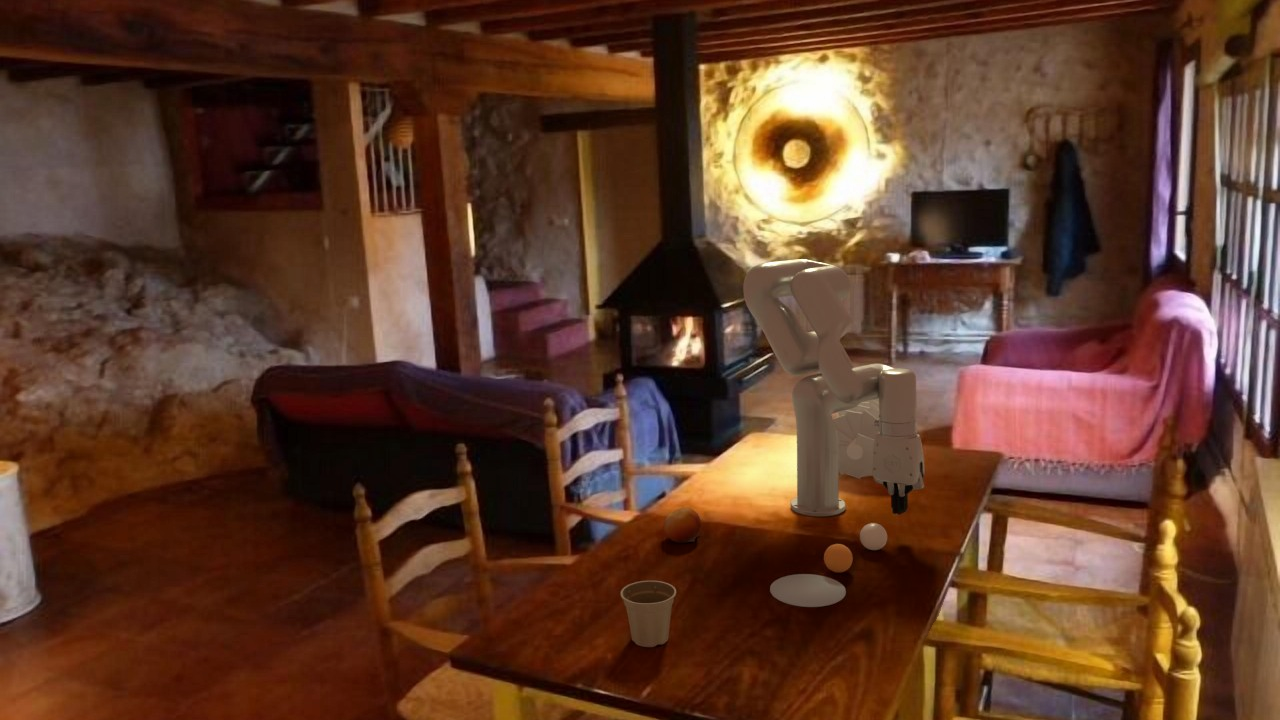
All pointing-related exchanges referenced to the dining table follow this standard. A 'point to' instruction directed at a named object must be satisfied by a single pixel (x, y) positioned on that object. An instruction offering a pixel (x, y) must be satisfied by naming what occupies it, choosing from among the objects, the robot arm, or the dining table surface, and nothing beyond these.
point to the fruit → (682, 525)
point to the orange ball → (838, 558)
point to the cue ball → (873, 536)
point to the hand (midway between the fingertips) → (899, 512)
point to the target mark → (807, 590)
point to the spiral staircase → (857, 438)
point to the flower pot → (649, 611)
